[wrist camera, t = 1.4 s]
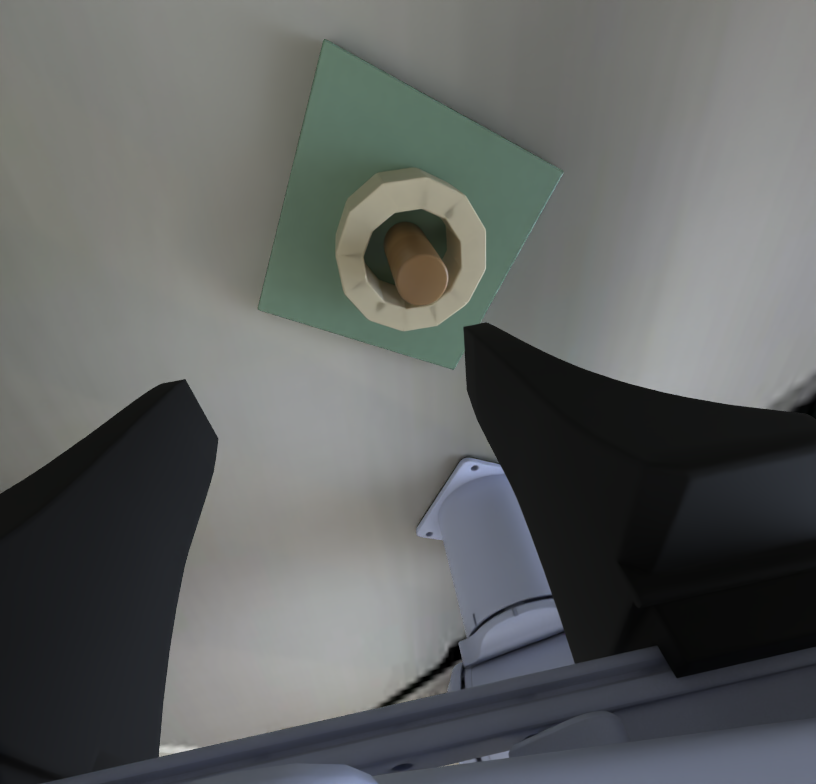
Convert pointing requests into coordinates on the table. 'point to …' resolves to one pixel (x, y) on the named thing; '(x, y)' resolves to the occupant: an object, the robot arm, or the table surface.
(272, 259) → the tape stand
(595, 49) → the table surface
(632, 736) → the robot arm
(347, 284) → the tape roll
